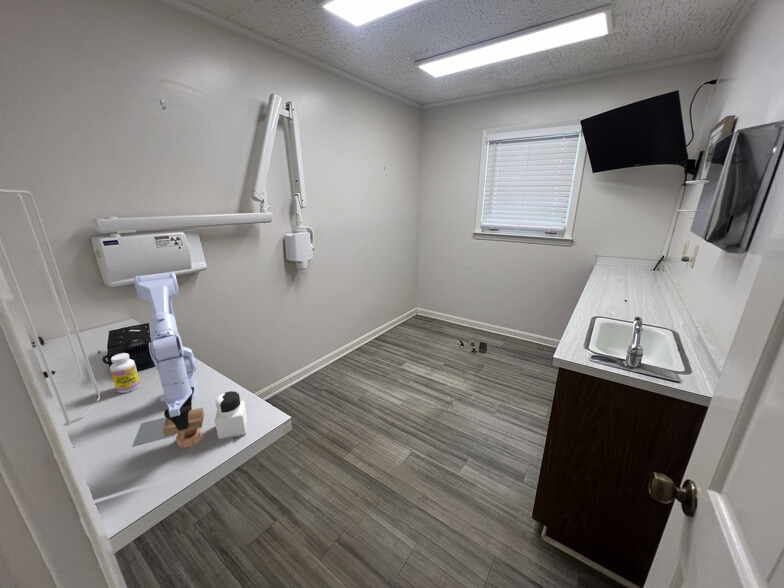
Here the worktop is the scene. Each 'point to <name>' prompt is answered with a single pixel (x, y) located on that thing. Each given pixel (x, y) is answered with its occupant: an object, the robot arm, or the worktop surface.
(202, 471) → the worktop surface
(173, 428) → the tan cardboard box
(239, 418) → the medicine bottle
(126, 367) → the supplement bottle
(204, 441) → the worktop surface
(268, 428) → the worktop surface
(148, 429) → the mat
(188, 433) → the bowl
